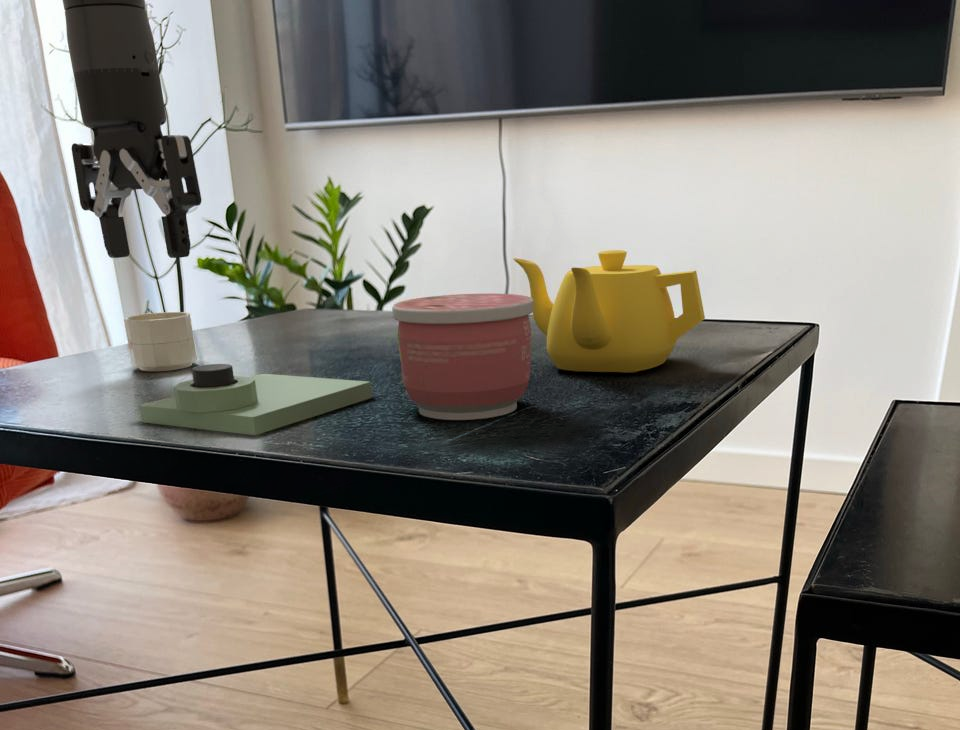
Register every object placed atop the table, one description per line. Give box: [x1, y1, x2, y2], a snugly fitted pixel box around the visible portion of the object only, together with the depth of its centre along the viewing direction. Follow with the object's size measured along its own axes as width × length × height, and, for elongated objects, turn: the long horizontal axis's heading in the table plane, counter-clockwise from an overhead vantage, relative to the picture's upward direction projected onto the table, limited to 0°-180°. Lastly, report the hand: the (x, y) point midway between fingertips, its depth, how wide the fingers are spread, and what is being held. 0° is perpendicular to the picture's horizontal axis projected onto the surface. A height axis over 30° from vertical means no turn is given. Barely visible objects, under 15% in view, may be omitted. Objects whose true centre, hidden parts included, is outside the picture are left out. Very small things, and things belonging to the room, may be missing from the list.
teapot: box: [512, 249, 706, 374], centre depth 91 cm, size 14×13×10 cm
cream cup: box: [123, 311, 198, 373], centre depth 103 cm, size 6×6×5 cm
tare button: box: [191, 363, 235, 388], centre depth 77 cm, size 3×3×2 cm
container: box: [391, 293, 534, 421], centre depth 77 cm, size 10×10×8 cm
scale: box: [138, 373, 373, 436], centre depth 81 cm, size 14×12×3 cm
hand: (149, 257), depth 99 cm, fingers open, 8 cm apart
